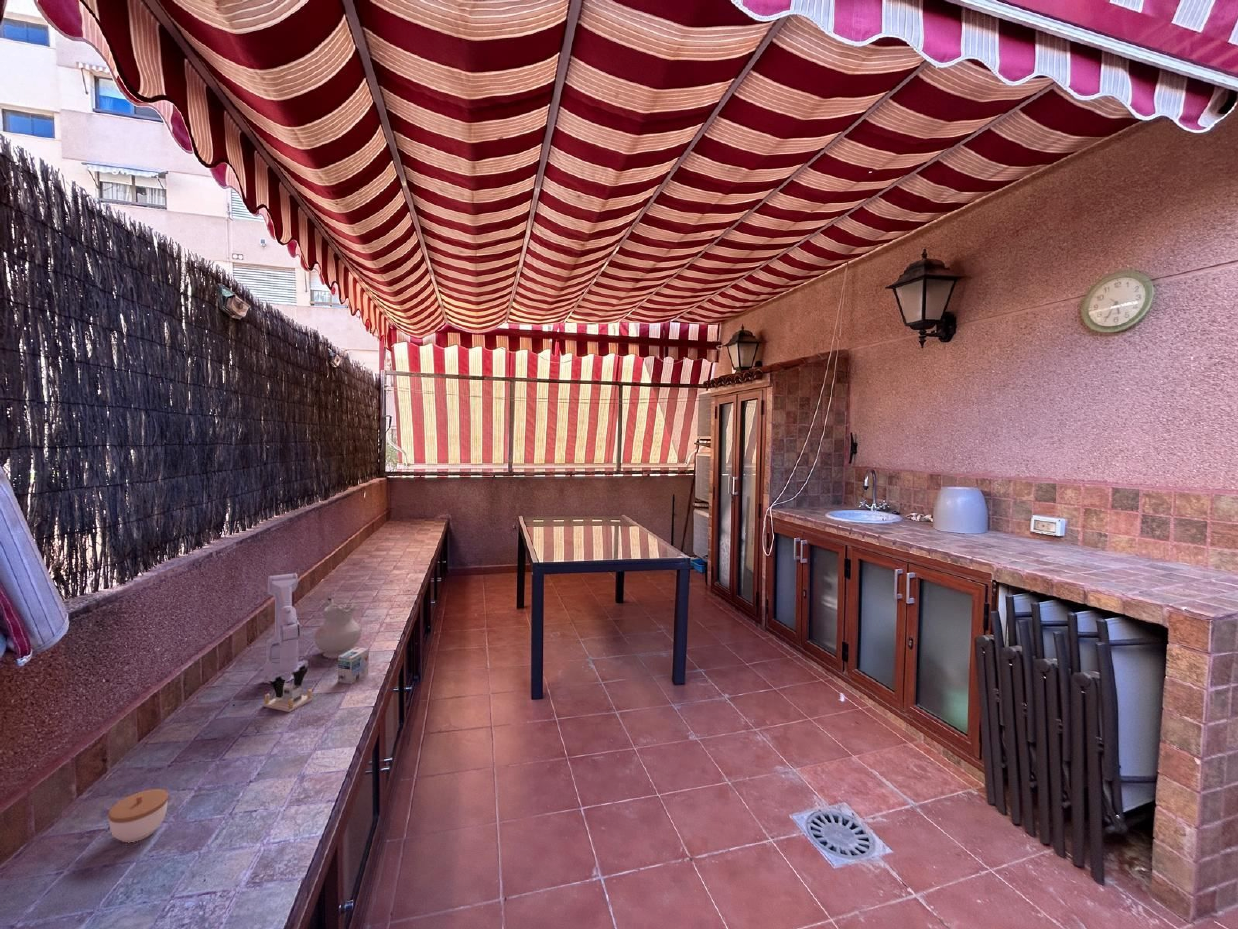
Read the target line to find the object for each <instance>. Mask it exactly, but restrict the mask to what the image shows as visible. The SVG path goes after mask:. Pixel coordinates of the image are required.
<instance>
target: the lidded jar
mask: <svg viewBox="0 0 1238 929" xmlns="http://www.w3.org/2000/svg"><path fill="white" fill-rule="evenodd" d="M168 800H169V792H168V791H167V790H165V789H162V788H152V789H146V790H142V791H140V792H136V793H134V794H131V795H129V796H127V797H124V798H123V799H121V800H120V801H118V802H116V803H115V804H114V805H113V806H112V807H111V808H110V810H109V812H108V820H109V829H110V834H112V836H113V837H114V838H115V839H116V840H118V841H121V842H123V843H124V842H126V843H125V844H131V843H130V842H133V843H136V842H135V841H137V842H139V841H142V840H145V839H146V838H148V837H150V836H151V835H152V834H153V833H154V832H156V829H157V828H158V827H159V826H160V825H161V823H162V822H163V820H164V818H165V817H166V813H167V811H168V810H167V809H168V802H169V801H168ZM138 840H139V841H138ZM127 842H128V843H127Z"/></svg>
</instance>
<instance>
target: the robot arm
mask: <svg viewBox="0 0 1238 929" xmlns="http://www.w3.org/2000/svg"><path fill="white" fill-rule="evenodd" d="M298 583H299V579H298V574H297V573H296V572H294V573H286V574H278V575H276V574H275V575H268V577H267V594H268V596H269V595H270V596H273V599H274V634H273V636H272V637H270V638H268V640H267V642H266V647H265V649H266V650H265V656H266V661H265V662H264V665H263V680H261V682H262V683H265V684H269V685H271V686H272V688H273V691H274V695H275V694H276V697H278V698H281V697H282V696H283V686H284V683H288V682H290V681H292V680H293V683H294V685H300V686H302V684H303V680H304V678H305V676H306V674H307V672H308V669H309V668H308V664H309V662H308V660H301V661H299V639H300V638H301V625H300V622H299V620H298V617H297V609H296V608H295V607H294V606H293V605H292V604H293V603H292V602H293V601H292V600H293V599H292V598H293V595H292V594H293V592H295V591H296V590H297V588H298ZM292 674H293V675H292Z"/></svg>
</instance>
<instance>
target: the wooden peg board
mask: <svg viewBox="0 0 1238 929" xmlns="http://www.w3.org/2000/svg"><path fill="white" fill-rule="evenodd" d="M312 692H313V691H312V689H307V690H306V695H305V694H304V695H303V694H302V700H300V701H298V702H297V703H295V704H293V699H289V704H285V703H280V702H276V701H275V698H272V699H270V695H271V694H270V693H267V694H265V695H264V703H263V706H264V708H265V707H266V708H270V709H275V710H279V711H283V712H287V713H288V712H289V713H291V712H292V711H294V710H296V709H298V708H300V707H301V706H303V705H305V704H307V703H309V702H311V701H312V700H313V695H312Z"/></svg>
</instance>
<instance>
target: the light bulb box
mask: <svg viewBox="0 0 1238 929" xmlns="http://www.w3.org/2000/svg"><path fill="white" fill-rule="evenodd" d="M350 649H351V650H350V651H348V652H346V653H344V654H342V655H340V656H338V659H337V682H338V683H343V684H351V685H352V684H353V683H355V682H357V681H358V680H360V679H362V678H363V677H365V676H367V675H369V658H370V656H369V655H370V649H369V648H366V647H359V646H358V647H357V646H354V647H353V648H350Z"/></svg>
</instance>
